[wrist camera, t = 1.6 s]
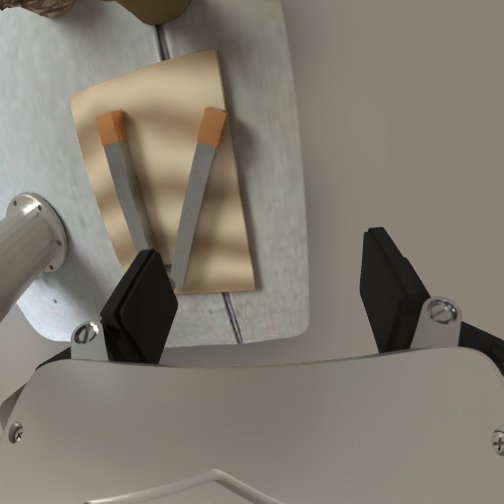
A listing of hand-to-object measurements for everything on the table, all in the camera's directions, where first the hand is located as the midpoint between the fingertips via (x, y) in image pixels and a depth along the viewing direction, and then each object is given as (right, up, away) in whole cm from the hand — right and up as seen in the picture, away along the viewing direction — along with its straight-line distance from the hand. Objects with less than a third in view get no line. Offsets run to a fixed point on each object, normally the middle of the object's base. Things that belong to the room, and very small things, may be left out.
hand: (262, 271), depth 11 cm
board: (-10, +7, +17) cm, 21 cm away
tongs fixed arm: (-13, +7, +16) cm, 22 cm away
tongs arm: (-7, +5, +17) cm, 19 cm away
